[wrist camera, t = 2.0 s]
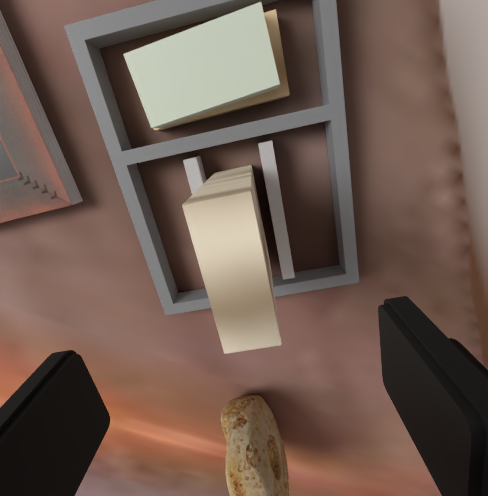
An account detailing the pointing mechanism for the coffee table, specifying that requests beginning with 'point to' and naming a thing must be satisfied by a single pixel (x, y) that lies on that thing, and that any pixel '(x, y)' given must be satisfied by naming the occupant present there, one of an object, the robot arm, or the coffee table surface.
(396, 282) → the coffee table surface
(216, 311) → the birch board
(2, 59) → the picture frame
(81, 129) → the coffee table surface
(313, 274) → the rack
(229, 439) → the tan rounded piece
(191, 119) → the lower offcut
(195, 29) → the upper offcut
